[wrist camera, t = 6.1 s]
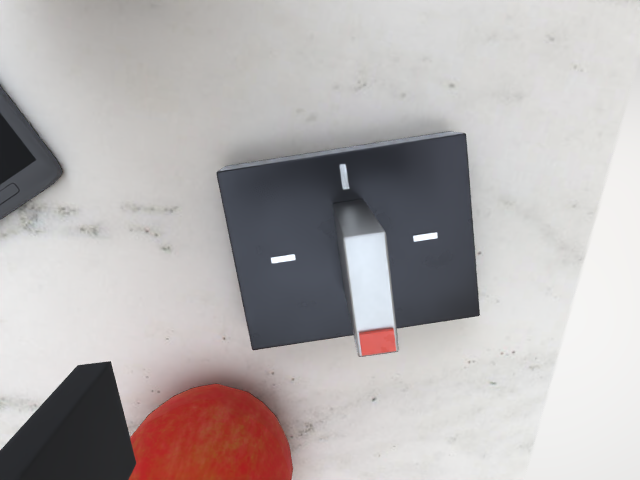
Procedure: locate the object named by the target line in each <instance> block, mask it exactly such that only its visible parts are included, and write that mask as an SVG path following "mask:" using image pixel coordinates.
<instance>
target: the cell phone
mask: <svg viewBox="0 0 640 480" xmlns="http://www.w3.org/2000/svg"><path fill="white" fill-rule="evenodd" d="M61 174H62V169H61V167H60V165H59V164H58V162H57V160H56V158H55V157H54V156H53V154H52V153H51V152H50V151H49V149H48V148H47V147H46V145H45V144H44V143H43V141H42V140H41V139H40V137H39V136H38V135H37V133H36V132H35V131H34V129H33V128H32V127H31V125H30V124H29V123H28V122H27V120H26V119H25V118H24V116H23V115H22V114H21V112H20V111H19V110H18V108H17V107H16V106H15V104H14V103H13V102H12V100H11V99H10V98H9V97H8V95H7V94H6V93H5V91H4V90H3V89H2V87H1V86H0V220H1V219H2V218H4V217H5V216H7V215H8V214H10V213H11V212H12V211H14V210H15V209H17V208H18V207H20V206H21V205H23V204H24V203H26V202H27V201H29V200H30V199H32V198H33V197H35V196H36V195H38V194H39V193H41V192H42V191H44V190H45V189H47V188H48V187H50V186H51V185H53V184H54V183H55V182H56V181H57V180H58V179H59V178H60V177H61Z"/></svg>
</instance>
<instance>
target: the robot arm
mask: <svg viewBox="0 0 640 480" xmlns="http://www.w3.org/2000/svg"><path fill="white" fill-rule="evenodd" d="M135 465H136V460H135V456H134V452H133V448H132V444H131V440H130V436H129V432H128V428H127V424H126V420H125V416H124V412H123V408H122V404H121V400H120V396H119V392H118V388H117V384H116V380H115V376H114V373H113V369H112V365H111V361H110V362H102V363H93V364H85V365H78V366H77V367H76V368H75V369H74V370H73V371H72V372H71V373H70V374H69V376H68V377H67V378H66V379H65V380H64V381H63V382H62V383H61V384H60V385H59V387H58V388H57V389H56V390H55V391H54V392H53V393H52V394H51V395H50V396H49V398H48V399H47V400H46V401H45V402H44V403H43V404H42V405H41V406H40V407H39V409H38V410H37V411H36V412H35V413H34V414H33V415H32V416H31V417H30V418H29V420H28V421H27V422H26V423H25V424H24V425H23V426H22V427H21V428H20V429H19V431H18V432H17V433H16V434H15V435H14V436H13V437H12V438H11V439H10V440H9V442H8V443H7V444H6V445H5V446H4V447H3V448H2V449H1V450H0V480H129V478H130V476H131V474H132V472H133V470H134V467H135Z"/></svg>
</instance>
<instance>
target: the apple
mask: <svg viewBox="0 0 640 480" xmlns="http://www.w3.org/2000/svg"><path fill="white" fill-rule="evenodd" d="M130 440H131V444H132V448H133V452H134V456H135V460H136V465H135V467H134V470H133V472H132V474H131V476H130V478H129V480H291V478H292V472H293V466H292V459H291V452H290V447H289V443H288V440H287V438H286V435H285V433H284V431H283V429H282V427H281V425H280V424H279V422H278V420H277V418H276V416H275V415H274V414H273V413H272V412H271V411H270V410H269V408H268V407H267V406H266V405H265V404H264V403H263V402H261V401H260V400H259V399H257V398H256V397H254V396H253V395H251V394H250V393H248V392H246V391H243V390H239V389H235V388H231V387H228V386H224V385H220V384H211V385H206V386H200V387H195V388H191V389H189V390H187V391H185V392H182V393H180V394H178V395H175V396H173V397H172V398H170V399H169V400H168V401H166V402H165V403H164V404H162V405H161V406H159V407H158V408H157V409H156V410H154V411H153V412H152V413H150V414H149V415H148V416H147V418H146V419H145V420H144V421H143V422H142V424H141V425H140V426H139V427H138V429H137V430H136V431H135V432H134V433H133V435H132V436H131V437H130Z"/></svg>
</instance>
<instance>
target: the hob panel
mask: <svg viewBox="0 0 640 480" xmlns="http://www.w3.org/2000/svg"><path fill="white" fill-rule="evenodd" d="M217 178H218V183H219V188H220V193H221V198H222V203H223V208H224V213H225V218H226V223H227V228H228V233H229V238H230V243H231V247H232V252H233V257H234V262H235V267H236V272H237V277H238V282H239V287H240V292H241V297H242V302H243V307H244V312H245V317H246V322H247V326H248V331H249V336H250V341H251V346H252V350H258V349H264V348H271V347H277V346H284V345H291V344H297V343H304V342H310V341H317V340H324V339H330V338H337V337H343V336H350V335H354V334H353V329H352V325H351V320H350V316H349V311H348V307H347V302H346V297H345V293H344V285H343V278H342V270H341V263H340V255H339V248H338V241H337V233H336V226H335V218H334V211H333V204H334V203H340V202H347V201H354V200H361V199H363V200H364V201H365V202H366V204H367V205H368V207H369V208H370V210H371V211H372V213H373V214H374V216H375V217H376V219H377V220H378V222H379V223H380V225H381V226H382V228H383V229H384V231H385V232H386V238H387V247H388V256H389V265H390V274H391V284H392V293H393V302H394V311H395V320H396V328H403V327H409V326H416V325H422V324H429V323H436V322H442V321H449V320H455V319H462V318H469V317H475V316H479V315H480V312H479V299H478V286H477V273H476V259H475V246H474V233H473V220H472V207H471V194H470V181H469V168H468V155H467V142H466V134H465V133H460V132H452V131H448V132H442V133H435V134H429V135H422V136H416V137H409V138H403V139H397V140H390V141H384V142H377V143H371V144H364V145H358V146H351V147H345V148H339V149H332V150H326V151H319V152H313V153H306V154H300V155H294V156H287V157H281V158H274V159H268V160H261V161H255V162H248V163H242V164H236V165H229V166H225V167H223V168H222V169H220V170H219V171H217Z"/></svg>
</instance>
